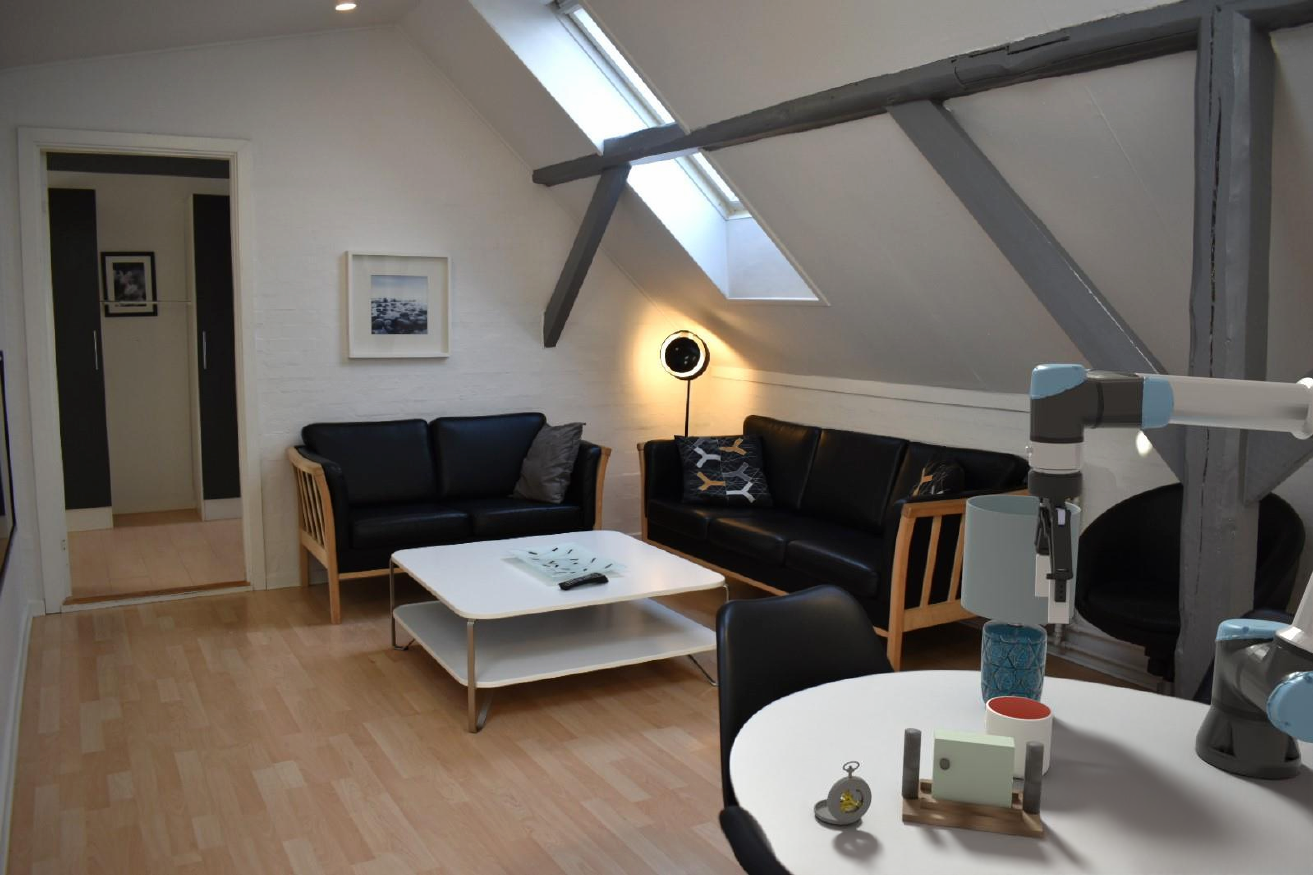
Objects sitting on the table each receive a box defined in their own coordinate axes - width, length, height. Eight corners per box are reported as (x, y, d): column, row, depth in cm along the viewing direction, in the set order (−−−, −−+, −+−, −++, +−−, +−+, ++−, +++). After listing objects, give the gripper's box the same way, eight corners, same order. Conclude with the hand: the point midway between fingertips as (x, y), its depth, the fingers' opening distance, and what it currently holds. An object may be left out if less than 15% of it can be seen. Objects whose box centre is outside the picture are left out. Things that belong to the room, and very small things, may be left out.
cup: (1053, 784, 164) (1057, 723, 163) (985, 778, 166) (989, 716, 165) (1043, 757, 174) (1047, 698, 172) (979, 751, 176) (983, 693, 174)
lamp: (970, 727, 185) (982, 515, 180) (944, 686, 204) (955, 493, 199) (1082, 730, 184) (1097, 517, 179) (1046, 689, 204) (1059, 495, 198)
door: (1008, 802, 156) (1013, 737, 155) (1011, 816, 152) (1015, 749, 150) (931, 792, 159) (934, 728, 157) (931, 806, 154) (935, 740, 153)
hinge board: (1034, 798, 159) (1039, 728, 158) (1043, 838, 148) (1048, 763, 146) (901, 783, 164) (905, 714, 162) (900, 820, 152) (904, 747, 151)
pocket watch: (828, 800, 158) (831, 736, 157) (879, 818, 153) (882, 752, 151) (799, 820, 152) (801, 754, 150) (851, 840, 146) (854, 771, 145)
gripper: (1018, 456, 170) (1015, 585, 173) (1040, 483, 146) (1036, 633, 148) (1068, 456, 168) (1064, 587, 171) (1098, 484, 144) (1093, 636, 147)
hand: (1051, 608), depth 160 cm, fingers open, 13 cm apart
